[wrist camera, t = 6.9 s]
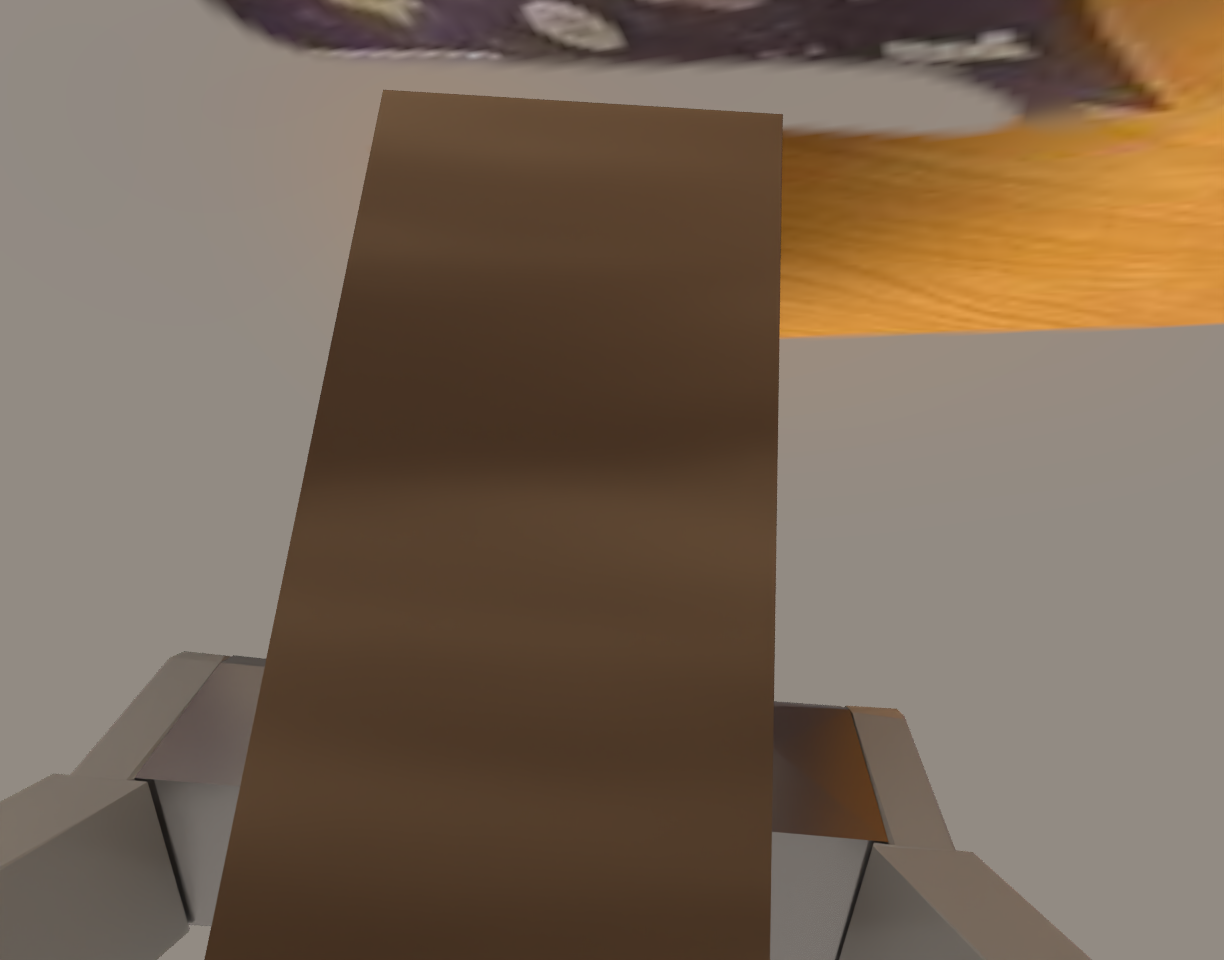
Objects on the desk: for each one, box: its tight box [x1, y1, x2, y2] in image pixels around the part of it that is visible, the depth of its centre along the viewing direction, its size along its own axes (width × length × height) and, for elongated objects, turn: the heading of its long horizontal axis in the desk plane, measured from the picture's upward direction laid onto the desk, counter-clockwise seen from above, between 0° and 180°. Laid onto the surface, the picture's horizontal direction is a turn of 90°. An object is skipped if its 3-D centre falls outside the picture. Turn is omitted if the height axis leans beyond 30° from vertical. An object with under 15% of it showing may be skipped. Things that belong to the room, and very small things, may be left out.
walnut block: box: [205, 90, 783, 960], centre depth 8 cm, size 3×4×8 cm
